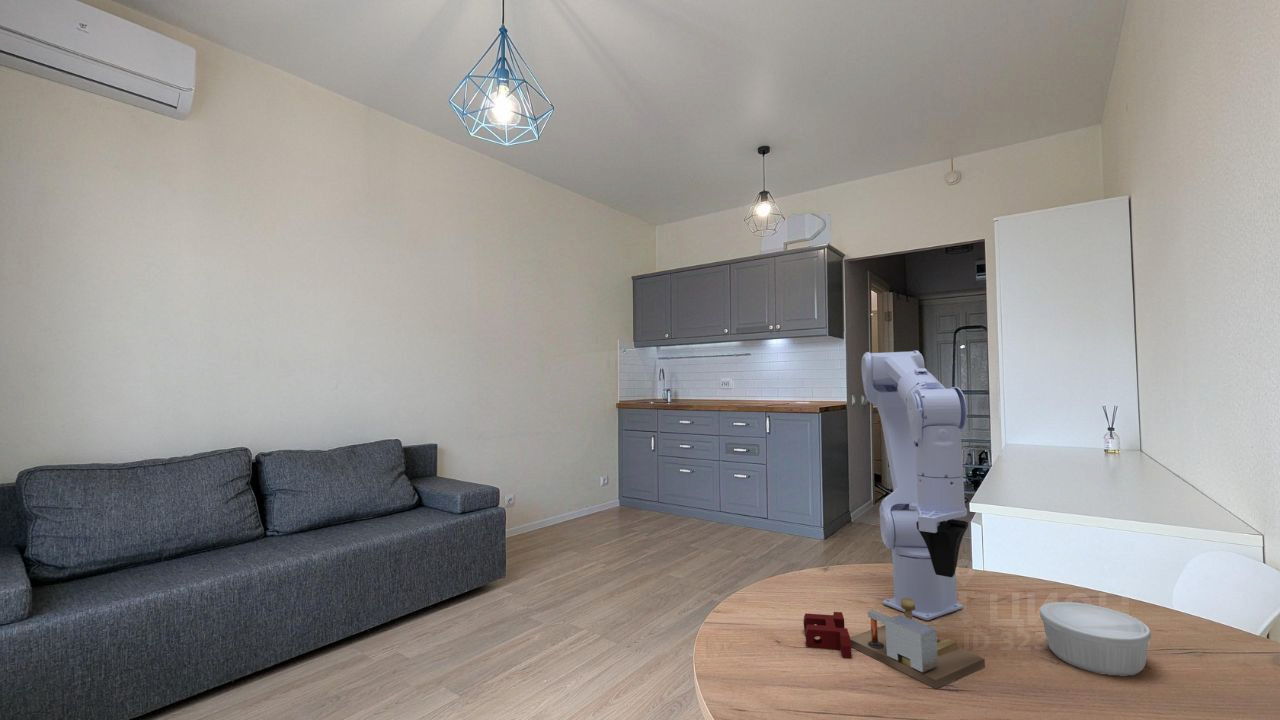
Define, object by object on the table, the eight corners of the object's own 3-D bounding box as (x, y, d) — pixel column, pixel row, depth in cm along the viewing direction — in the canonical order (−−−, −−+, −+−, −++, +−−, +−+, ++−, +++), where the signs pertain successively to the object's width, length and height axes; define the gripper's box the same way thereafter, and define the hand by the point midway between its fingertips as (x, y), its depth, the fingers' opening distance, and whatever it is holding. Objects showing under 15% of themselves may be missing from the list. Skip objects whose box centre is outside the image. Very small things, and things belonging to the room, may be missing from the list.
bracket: (850, 639, 73) (841, 609, 83) (806, 636, 74) (802, 607, 84) (851, 661, 73) (841, 629, 82) (807, 657, 74) (802, 626, 84)
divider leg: (938, 665, 68) (936, 628, 68) (922, 672, 66) (920, 634, 66) (879, 639, 75) (877, 605, 75) (864, 644, 74) (862, 610, 74)
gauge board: (985, 666, 70) (982, 622, 70) (936, 688, 65) (933, 641, 65) (895, 628, 81) (893, 591, 81) (847, 645, 76) (845, 605, 77)
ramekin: (1135, 692, 63) (1131, 645, 64) (1026, 654, 73) (1023, 614, 73) (1167, 664, 69) (1163, 621, 70) (1062, 632, 79) (1060, 595, 79)
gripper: (923, 466, 84) (928, 556, 83) (891, 479, 73) (897, 583, 72) (976, 470, 79) (981, 565, 78) (950, 484, 69) (957, 595, 68)
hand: (944, 574), depth 75 cm, fingers closed
